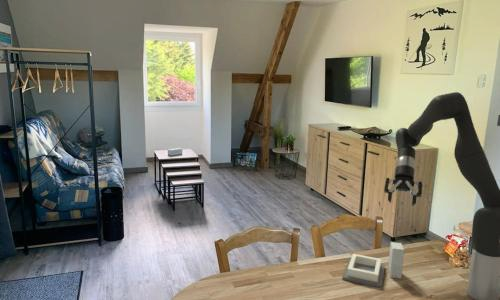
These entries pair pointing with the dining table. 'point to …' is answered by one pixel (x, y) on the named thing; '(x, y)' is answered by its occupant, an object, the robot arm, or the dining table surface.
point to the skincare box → (396, 260)
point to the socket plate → (364, 270)
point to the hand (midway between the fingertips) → (401, 203)
